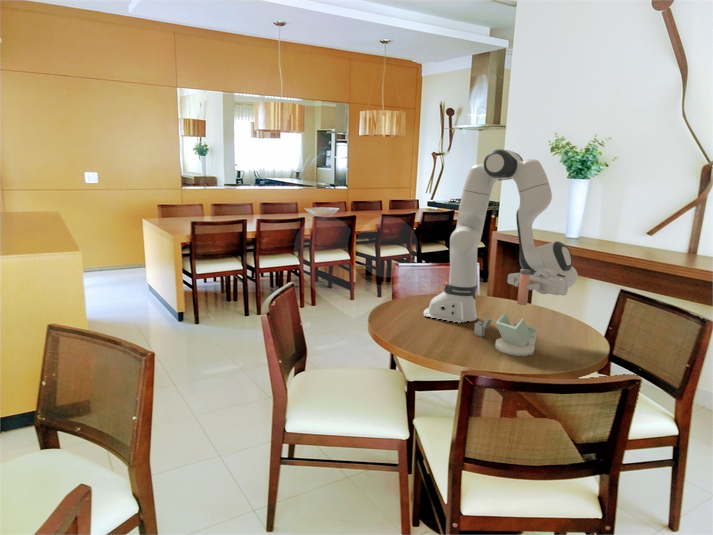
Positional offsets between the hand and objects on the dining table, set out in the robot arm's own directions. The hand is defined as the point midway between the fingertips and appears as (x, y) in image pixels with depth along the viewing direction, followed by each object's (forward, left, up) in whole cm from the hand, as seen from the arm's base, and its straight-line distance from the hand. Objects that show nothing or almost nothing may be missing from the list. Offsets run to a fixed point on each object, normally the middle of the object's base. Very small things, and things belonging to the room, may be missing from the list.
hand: (522, 285), depth 165 cm
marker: (+1, +1, -6) cm, 7 cm away
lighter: (-12, +9, -23) cm, 27 cm away
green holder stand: (0, 0, -23) cm, 23 cm away
